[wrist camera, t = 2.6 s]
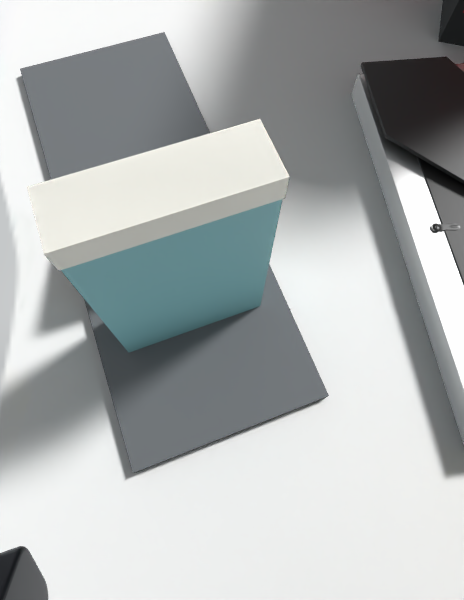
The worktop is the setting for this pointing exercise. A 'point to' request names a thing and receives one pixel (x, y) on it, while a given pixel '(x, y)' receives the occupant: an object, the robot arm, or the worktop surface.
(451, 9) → the cleaning product box
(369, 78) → the picture frame
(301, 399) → the mat
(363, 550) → the worktop surface
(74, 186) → the card deck
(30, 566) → the robot arm
